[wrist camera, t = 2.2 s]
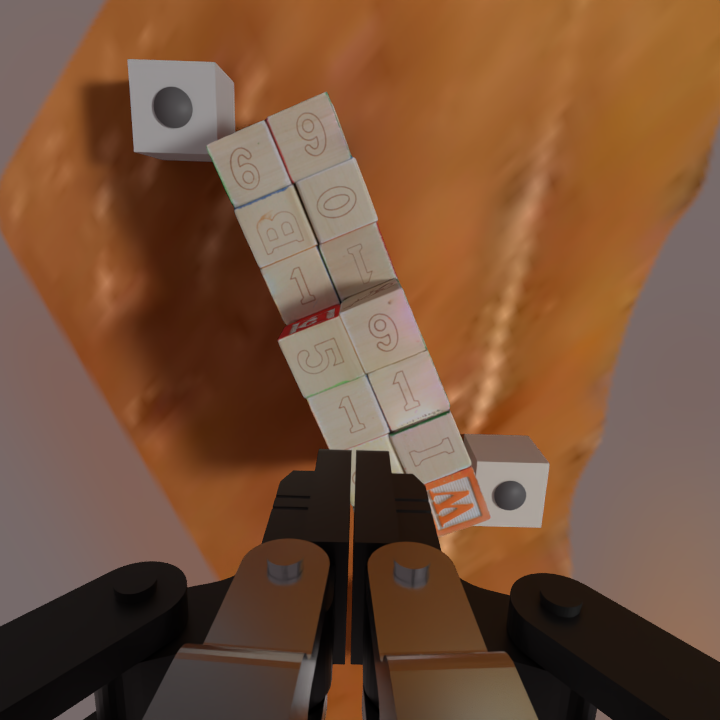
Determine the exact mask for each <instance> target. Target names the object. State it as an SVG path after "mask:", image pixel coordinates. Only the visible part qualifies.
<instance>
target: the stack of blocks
mask: <svg viewBox="0 0 720 720" xmlns="http://www.w3.org/2000/svg"><path fill="white" fill-rule="evenodd" d="M206 148H207V151H208V153H209V155H210V158H211V160H212V162H213V164H214V166H215V169H216V171H217V173H218V175H219V177H220V179H221V182H222V184H223V186H224V189H225V191H226V193H227V195H228V197H229V199H230V201H231V203H232V205H233V206H234V212H235V215H236V218H237V220H238V222H239V224H240V226H241V229H242V231H243V233H244V235H245V237H246V240H247V242H248V244H249V246H250V248H251V251H252V253H253V255H254V257H255V260H256V262H257V264H258V266H259V267H260V270H261V273H262V276H263V278H264V280H265V283H266V285H267V287H268V290H269V292H270V294H271V296H272V298H273V300H274V302H275V304H276V307H277V309H278V311H279V313H280V315H281V317H282V319H283V321H284V323H285V324H286V325H287V326H285V327H284V329H283V331H282V333H281V334H280V336H279V338H278V340H277V341H278V343H279V346H280V348H281V350H282V352H283V354H284V356H285V358H286V361H287V363H288V365H289V367H290V369H291V371H292V374H293V376H294V378H295V380H296V382H297V384H298V387H299V389H300V391H301V393H302V395H303V397H304V398H306V400H307V402H308V404H309V407H310V409H311V411H312V414H313V416H314V418H315V420H316V422H317V425H318V427H319V429H320V431H321V433H322V435H323V438H324V440H325V442H326V444H327V446H328V448H329V449H334V450H352V459H351V493H350V503H351V505H352V506H353V511H354V502H355V470H356V450H373V451H389V455H390V463H391V471H392V473H404V474H414V475H415V476H416V477H417V478H418V479H419V480H420V481H421V482H422V483H423V484H424V485H425V486H426V490H427V494H428V498H429V502H430V507H431V514H432V515H433V519H434V523H435V527H436V531H437V536H438V537H442V536H445V535H447V534H450V533H453V532H456V531H459V530H462V529H465V528H467V527H470V526H473V525H476V524H478V523H481V522H484V521H486V520H489V519H491V514H490V511H489V508H488V506H487V503H486V501H485V498H484V496H483V493H482V491H481V488H480V485H479V483H478V480H477V478H476V475H475V472H474V470H473V468H472V466H471V464H472V463H471V460H470V457H469V455H468V453H467V450H466V448H465V445H464V443H463V440H462V438H461V435H460V433H459V431H458V428H457V426H456V423H455V421H454V419H453V416H452V414H451V412H450V409H449V408H450V403H449V400H448V398H447V395H446V393H445V390H444V388H443V386H442V383H441V380H440V378H439V375H438V373H437V371H436V368H435V366H434V363H433V361H432V358H431V356H430V354H429V352H428V350H427V347H426V344H425V342H424V339H423V337H422V335H421V333H420V330H419V328H418V325H417V323H416V321H415V318H414V315H413V313H412V310H411V308H410V306H409V303H408V301H407V298H406V296H405V293H404V290H403V289H402V287H401V285H400V283H399V280H398V277H397V275H396V272H395V270H394V267H393V264H392V262H391V259H390V256H389V254H388V251H387V248H386V246H385V243H384V240H383V237H382V235H381V232H380V229H379V227H378V224H377V220H378V217H377V215H376V212H375V209H374V206H373V204H372V201H371V198H370V195H369V193H368V190H367V187H366V185H365V182H364V179H363V177H362V174H361V172H360V169H359V166H358V164H357V161H356V159H355V158H354V157H352V156H351V153H350V151H349V148H348V145H347V142H346V139H345V136H344V134H343V131H342V128H341V125H340V122H339V120H338V117H337V114H336V111H335V108H334V106H333V104H332V103H331V101H330V98H329V95H328V93H327V92H324V93H322V94H320V95H317V96H315V97H313V98H310V99H308V100H306V101H304V102H301V103H299V104H297V105H295V106H292V107H290V108H288V109H285V110H283V111H280V112H278V113H276V114H274V115H271V116H269V117H268V118H267V119H266V120H263V121H261V122H258V123H256V124H253V125H251V126H249V127H246V128H244V129H242V130H239V131H237V132H235V133H233V134H231V135H228V136H226V137H223V138H221V139H219V140H217V141H214V142H212V143H210V144H208V145H206Z"/></svg>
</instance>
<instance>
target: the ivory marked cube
mask: <svg viewBox="0 0 720 720" xmlns="http://www.w3.org/2000/svg"><path fill="white" fill-rule="evenodd" d="M464 445H465V448H466V450H467V453H468V455H469V457H470V460H471V463H472V464H471V466H472V468H473V470H474V472H475V475H476V478H477V480H478V483H479V485H480V488H481V491H482V493H483V496H484V498H485V501H486V503H487V506H488V508H489V511H490V514H491V519H489V520H486V521H484V522H481V523H478V524H476V525H473V526H502V527H538V528H541V524H542V516H543V509H544V501H545V494H546V486H547V478H548V471H549V462H548V461H547V460H546V458H545V457H544V456H543V454H542V453H541V452H540V450H539V449H538V448H537V447H536V445H535V444H534V443H533V441H532V440H531V439H530V437H529V436H519V435H485V434H464Z"/></svg>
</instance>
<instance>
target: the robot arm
mask: <svg viewBox="0 0 720 720" xmlns="http://www.w3.org/2000/svg"><path fill="white" fill-rule="evenodd" d="M351 459H352V450H334V449H319V451H318V457H317V462H316V468H315V471H292V472H291V473H290V474H289V475H288V476H286V477H285V478H284V479H283V480H282V481H281V482H280V484H279V488H278V491H277V494H276V498H275V501H274V504H273V509H272V511H271V514H270V518H269V521H268V524H267V528H266V531H265V534H264V537H263V541H262V544H260V545H258V546H256V547H255V548H253V549H252V550H250V551H249V552H248V553H247V554H246V555H245V556H244V558H243V560H242V562H241V564H240V566H239V568H238V570H237V572H236V574H235V576H232V577H230V578H227V579H225V580H222V581H218V582H213V583H209V584H203V585H198V586H193V587H188V588H187V580H186V577H185V575H184V573H183V572H182V571H181V570H180V569H179V568H177V567H176V566H174V565H171V564H168V563H164V562H153V561H152V562H151V561H150V562H139V563H134V564H129V565H126V566H123V567H120V568H118V569H115V570H113V571H111V572H109V573H107V574H105V575H103V576H101V577H99V578H97V579H95V580H93V581H91V582H89V583H87V584H85V585H83V586H81V587H79V588H77V589H75V590H73V591H71V592H69V593H67V594H65V595H63V596H61V597H59V598H57V599H55V600H53V601H51V602H49V603H47V604H45V605H43V606H41V607H39V608H36V609H35V610H32V611H30V612H28V613H26V614H24V615H22V616H20V617H18V618H17V619H14V620H13V621H11V622H9V623H6V624H4V625H2V626H0V720H53V719H54V718H56V717H57V716H59V715H60V714H62V713H63V712H65V711H66V710H68V709H69V708H71V707H73V706H74V705H76V704H77V703H79V702H80V701H82V700H83V699H84V698H86V697H88V696H89V695H91V694H92V693H94V695H95V703H96V711H95V712H94V713H92V714H91V715H89V716H88V717H86V718H85V719H84V720H325V718H326V711H327V693H328V691H329V689H330V686H331V680H332V665H333V664H345V643H346V615H347V586H348V558H349V528H350V493H351ZM351 664H360V665H363V695H362V716H363V720H595V717H596V712H597V708H598V709H599V710H600V711H602V712H603V713H604V714H606V715H607V716H608V717H610V718H611V719H612V720H720V662H718V661H717V660H715V659H713V658H712V657H710V656H708V655H706V654H704V653H703V652H701V651H699V650H698V649H696V648H694V647H692V646H691V645H689V644H687V643H685V642H684V641H682V640H680V639H678V638H677V637H675V636H673V635H671V634H670V633H668V632H666V631H665V630H663V629H661V628H659V627H658V626H656V625H654V624H652V623H651V622H649V621H647V620H645V619H644V618H642V617H640V616H638V615H637V614H635V613H633V612H631V611H630V610H628V609H626V608H625V607H623V606H621V605H619V604H618V603H616V602H614V601H612V600H611V599H609V598H607V597H605V596H604V595H602V594H600V593H598V592H597V591H595V590H593V589H592V588H590V587H588V586H586V585H584V584H582V583H580V582H579V581H576V580H574V579H571V578H568V577H565V576H561V575H556V574H548V573H537V574H530V575H527V576H524V577H522V578H520V579H518V580H517V581H516V582H515V583H514V584H513V586H512V588H511V591H510V595H506V594H502V593H498V592H494V591H490V590H486V589H483V588H479V587H477V586H474V585H472V584H470V583H468V582H466V581H464V580H462V579H461V578H459V575H458V573H457V570H456V568H455V565H454V563H453V562H452V560H451V559H450V558H449V557H448V556H447V555H446V554H445V553H443V552H442V551H441V548H440V544H439V540H438V536H437V531H436V527H435V523H434V519H433V515H432V514H431V507H430V502H429V498H428V494H427V490H426V486H425V485H424V484H423V483H422V482H421V481H420V480H419V479H418V478H417V477H416V476H415V475H414V474H404V473H392V471H391V463H390V455H389V451H373V450H356V470H355V502H354V536H353V581H352V627H351Z"/></svg>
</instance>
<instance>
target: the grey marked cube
mask: <svg viewBox="0 0 720 720" xmlns="http://www.w3.org/2000/svg"><path fill="white" fill-rule="evenodd" d="M128 72H129V86H130V101H131V115H132V129H133V143H134V152H136V153H140V154H143V155H147V156H150V157H154V158H157V159H161V160H177V161H207V162H212V160H211V158H210V155H209V153H208V151H207V148H206V145H208V144H210V143H212V142H214V141H217V140H219V139H221V138H223V137H226V136H228V135H231V134H233V133H235V105H234V82H233V81H232V80H231V79H230V78H229V77H228V76H227V75H226V74H225V72H224V71H223V70H222V69H221V68H220V67H219V66H218V65H217V64H216V63H215V62H193V61H164V60H136V59H128Z"/></svg>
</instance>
